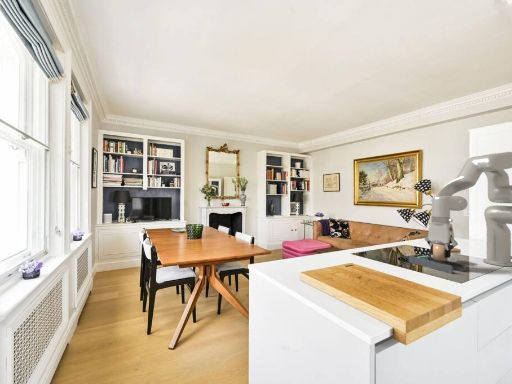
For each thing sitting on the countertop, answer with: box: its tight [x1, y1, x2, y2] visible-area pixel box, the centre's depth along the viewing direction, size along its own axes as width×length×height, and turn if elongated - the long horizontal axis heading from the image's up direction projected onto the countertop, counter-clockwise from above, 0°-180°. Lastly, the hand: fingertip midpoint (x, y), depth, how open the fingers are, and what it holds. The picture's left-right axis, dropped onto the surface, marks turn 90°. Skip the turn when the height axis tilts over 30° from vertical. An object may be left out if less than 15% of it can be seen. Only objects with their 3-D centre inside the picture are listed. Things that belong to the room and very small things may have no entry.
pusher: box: [417, 255, 429, 260], centre depth 135 cm, size 7×1×4 cm, turn 112°
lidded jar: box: [448, 247, 462, 263], centre depth 138 cm, size 11×11×9 cm
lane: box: [407, 253, 465, 275], centre depth 130 cm, size 10×22×4 cm, turn 22°
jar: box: [432, 241, 448, 261], centre depth 127 cm, size 6×6×9 cm
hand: (440, 255), depth 127 cm, fingers closed on jar, 6 cm apart
